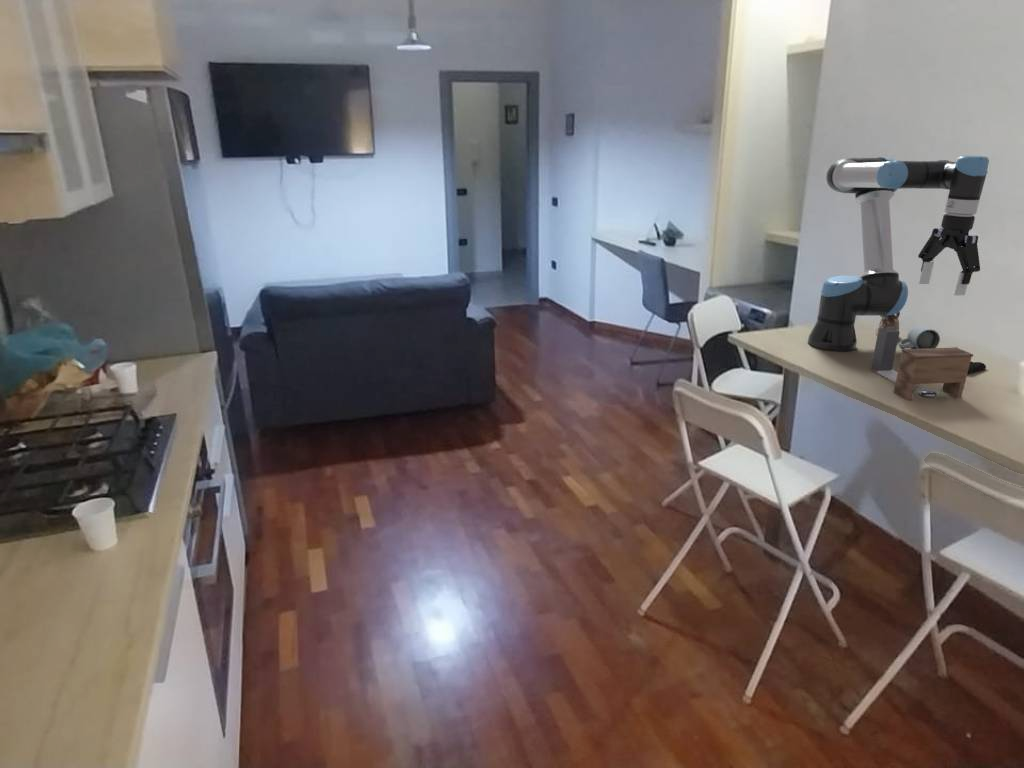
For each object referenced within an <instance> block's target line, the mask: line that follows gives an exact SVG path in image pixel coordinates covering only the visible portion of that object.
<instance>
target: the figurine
mask: <svg viewBox="0 0 1024 768" xmlns="http://www.w3.org/2000/svg"><path fill="white" fill-rule="evenodd" d="M900 313H901V311H900V312H898V313H897V314H895V315H885V316H880V315H879V316H880V318H881V319H880V321H879V324H878V327H877V328H876V332H875V336H876V337H877V335H878V330H879V328H892V329H895V330H897V331H899V332H900V321H899V318H900Z"/></svg>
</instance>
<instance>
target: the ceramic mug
mask: <svg viewBox="0 0 1024 768" xmlns="http://www.w3.org/2000/svg"><path fill="white" fill-rule="evenodd" d="M906 337H907V338H906ZM906 337H905V338H904V339H902V340H900V341H899V342H898V345H899V348H901V349H912V348H914V349H927V348H938V346H939V345H940V340H941V337H940V334H939V332H938V331H936V330H935V329H932V328H929V327H927V326H924V325H919V326H918V325H917V326H913V327H912V328H911V329H910V330H909V331H908V333H907V336H906Z"/></svg>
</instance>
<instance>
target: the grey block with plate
mask: <svg viewBox="0 0 1024 768" xmlns="http://www.w3.org/2000/svg"><path fill="white" fill-rule="evenodd" d="M900 334H901V333H900V330H899V331H897V330H895V329H892V328H879V330H878V335H877V336H876V342H875V345H874V350H873V351H874V352H873V355H872V362H871V365H870V370H872V369H873V370H872V371H874V370H875V371H874V372H876V371H877V372H876V373H877V374H878V373H879V374H878V375H880V374H881V375H880V376H882V377H883V376H884V377H883V378H885V377H886V379H887V378H888V379H887V380H889V379H890V380H889V381H892V382H893V383H894V384H896V379H897V374H898V371H896V370H894V369H893V366H894V365H893V364H894V360H895V355H896V350H897V346H898V343H899V342H898V341H899V337H900ZM920 386H921V384H915V388H916V387H920Z"/></svg>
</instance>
